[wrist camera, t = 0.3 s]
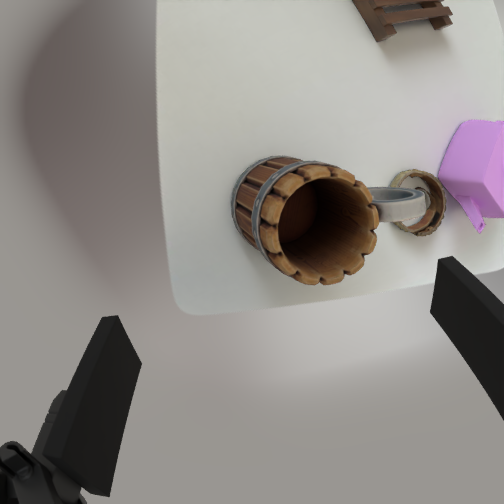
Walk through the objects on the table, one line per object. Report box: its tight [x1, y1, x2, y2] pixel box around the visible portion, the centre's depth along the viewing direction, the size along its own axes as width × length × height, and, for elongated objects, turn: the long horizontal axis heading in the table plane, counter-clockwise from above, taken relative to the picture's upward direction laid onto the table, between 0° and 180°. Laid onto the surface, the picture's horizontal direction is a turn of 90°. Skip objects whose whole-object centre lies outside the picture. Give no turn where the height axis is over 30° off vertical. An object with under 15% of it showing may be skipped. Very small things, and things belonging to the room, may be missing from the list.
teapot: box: [438, 120, 504, 233], centre depth 33 cm, size 18×10×10 cm, turn 149°
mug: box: [231, 156, 426, 285], centre depth 28 cm, size 16×11×15 cm
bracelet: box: [390, 169, 446, 236], centre depth 36 cm, size 9×9×3 cm
